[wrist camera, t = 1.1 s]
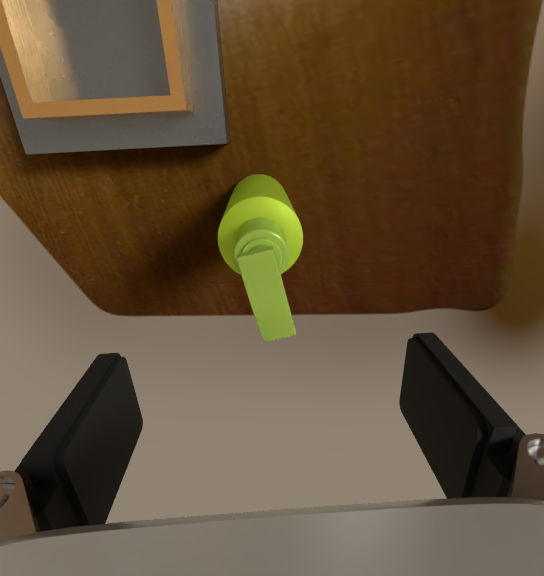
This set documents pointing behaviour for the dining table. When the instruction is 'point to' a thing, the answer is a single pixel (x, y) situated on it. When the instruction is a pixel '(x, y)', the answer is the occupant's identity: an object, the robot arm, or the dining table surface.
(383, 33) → the dining table surface
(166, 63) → the bottle holder tray
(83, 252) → the dining table surface
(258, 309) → the green pump bottle
